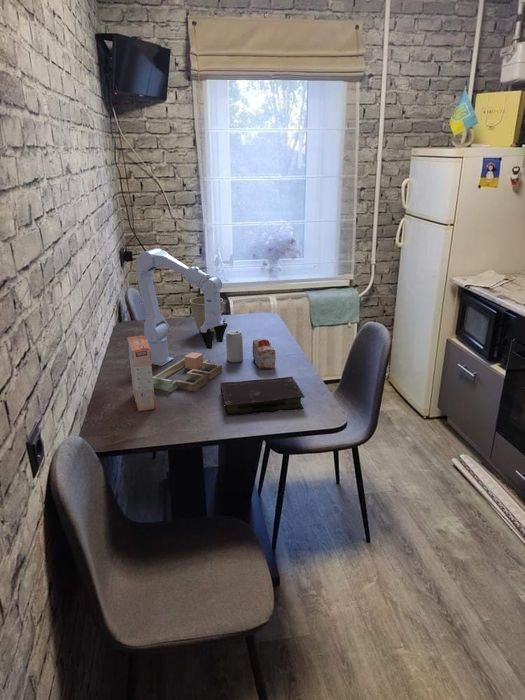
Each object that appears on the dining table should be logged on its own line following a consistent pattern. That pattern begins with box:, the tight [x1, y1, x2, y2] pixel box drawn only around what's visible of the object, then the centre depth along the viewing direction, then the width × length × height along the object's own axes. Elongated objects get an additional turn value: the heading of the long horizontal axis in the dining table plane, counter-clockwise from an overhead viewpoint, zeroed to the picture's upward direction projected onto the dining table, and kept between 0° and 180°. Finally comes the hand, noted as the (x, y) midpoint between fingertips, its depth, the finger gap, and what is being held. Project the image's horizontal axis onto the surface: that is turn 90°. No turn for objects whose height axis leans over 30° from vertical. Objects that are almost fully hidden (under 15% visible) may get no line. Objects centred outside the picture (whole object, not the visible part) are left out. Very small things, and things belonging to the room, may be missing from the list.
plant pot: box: [189, 295, 224, 336], centre depth 223 cm, size 15×15×16 cm
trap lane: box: [153, 357, 223, 393], centre depth 178 cm, size 17×25×4 cm
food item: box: [252, 338, 277, 370], centre depth 188 cm, size 14×8×10 cm, turn 15°
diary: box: [219, 376, 305, 417], centre depth 160 cm, size 19×25×5 cm
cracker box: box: [127, 334, 156, 412], centre depth 158 cm, size 14×6×21 cm, turn 20°
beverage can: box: [225, 329, 244, 363], centre depth 192 cm, size 6×6×12 cm
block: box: [183, 351, 204, 370], centre depth 187 cm, size 5×5×5 cm
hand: (214, 345), depth 183 cm, fingers open, 7 cm apart
